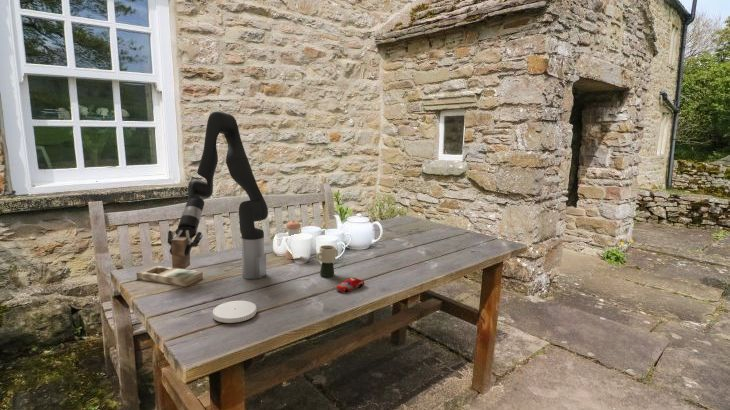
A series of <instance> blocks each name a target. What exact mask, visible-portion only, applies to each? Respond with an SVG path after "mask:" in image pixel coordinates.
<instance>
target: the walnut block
mask: <svg viewBox="0 0 730 410" xmlns="http://www.w3.org/2000/svg"><path fill="white" fill-rule="evenodd" d="M188 238H189V237H176V236H174V237H173V239H172V240H171V246H170V248H171V247H172V255H171V261H172V262H171V263H172V265H171V266H172V267H171V268H174V269H187V268H188V267H189V266H190V265H191V252H190V253H189V254H188V256H186V255H185V254H184V252H185V249H186V246H187V245H188V244H187V243H188Z"/></svg>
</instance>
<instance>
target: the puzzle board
mask: <svg viewBox="0 0 730 410" xmlns="http://www.w3.org/2000/svg"><path fill="white" fill-rule="evenodd" d="M135 275H136V280H139V281H146V282H147V281H148V282H155V283H161V284H168V285H169V284H170V285H175V286H180V287H181V286H183V287H187V286H189V285H192V284H194V283H196V282H198V281H200V280H202V279H203V278H204V272H203V271H199V270H192V269H187V268H185V269H174V268H172V267H168V266H162V265H152V266H150V267H147V268H144V269H142V270H140V271H138V272H136V274H135Z"/></svg>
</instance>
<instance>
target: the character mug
mask: <svg viewBox="0 0 730 410" xmlns="http://www.w3.org/2000/svg"><path fill="white" fill-rule="evenodd" d="M338 252H339V251H338V249H336V246H335V245H330V244H328V245H327V244H325V245H321V246H319V252H317V253H316V260H317V261H320V262H321V264H320V271H319V275H320V276H323V277H333V276H335V268H334V263H335V261H336V258H337V257H338V255H339V253H338Z"/></svg>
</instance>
